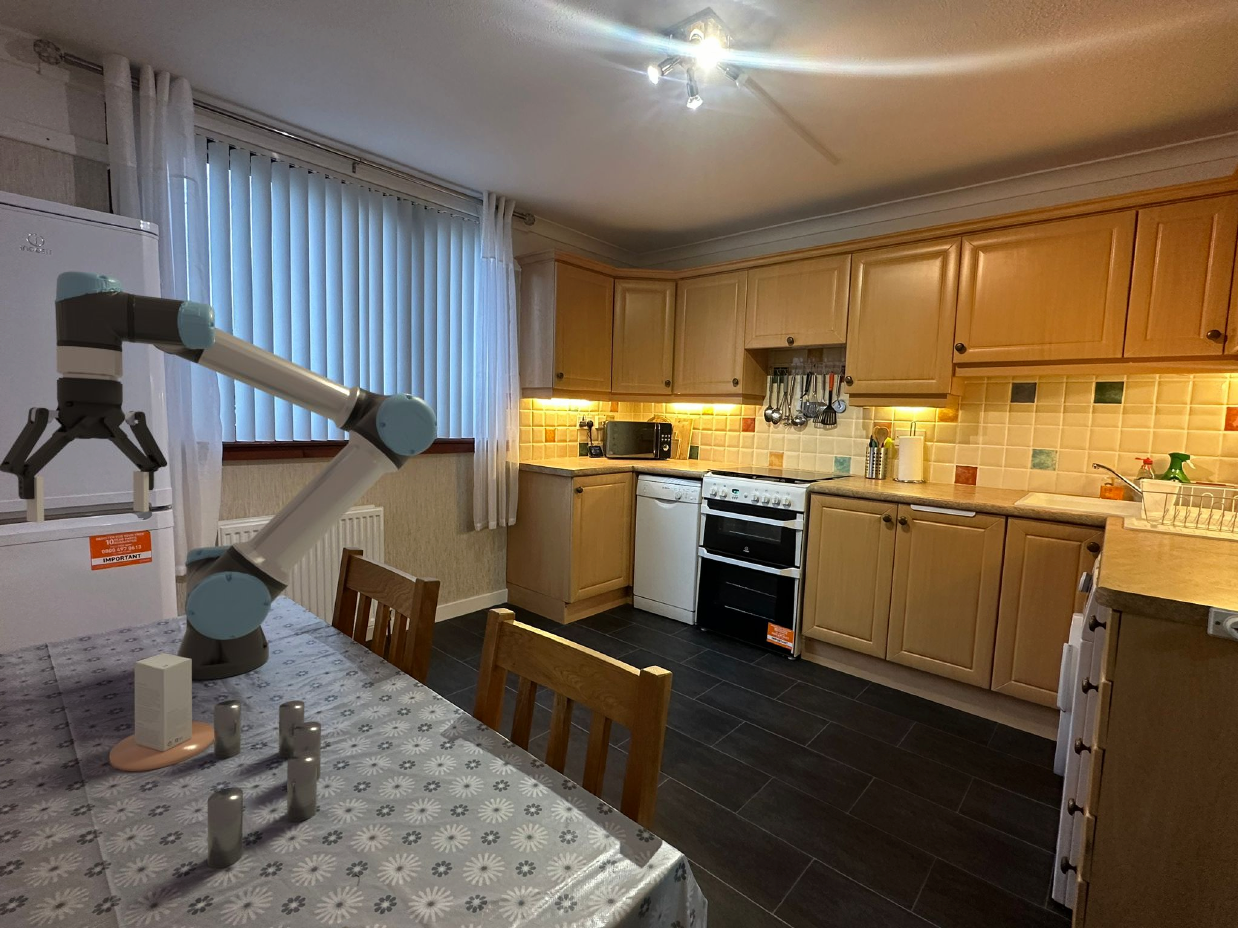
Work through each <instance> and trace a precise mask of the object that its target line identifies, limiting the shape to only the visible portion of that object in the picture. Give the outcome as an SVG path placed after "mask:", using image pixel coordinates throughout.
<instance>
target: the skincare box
mask: <svg viewBox="0 0 1238 928" xmlns="http://www.w3.org/2000/svg"><path fill="white" fill-rule="evenodd" d="M192 680H193V679H192V659H189V658H184V657H179V656H177V655H174V654H171V653H165V652H163V653H159V654H157V655H154V656H151V657H147V658H144V659H141V660H140V659H139V660H137V661H135V662H134V734H135V744H138V745H142V746H145V747H149V748H152V749H156V750H159V751H162V752H164V751H166V750H168V749H170V748H172V747H174V746H177V745H179V744H181V743H183V742H185V741H187V740H189V739H191V738H192V721H193V713H192V712H193V709H192V708H193V705H192V704H193V697H192V695H193V694H192V693H193V688H192V685H193V684H192V683H193V682H192Z"/></svg>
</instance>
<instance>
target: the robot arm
mask: <svg viewBox="0 0 1238 928" xmlns="http://www.w3.org/2000/svg"><path fill="white" fill-rule="evenodd" d="M55 292H56V293H55V299H54V307H55V331H56V332H55V333H56V334H55V335H56V337H55V338H56V372H57V373H58V374H60V375H61V376H62V377H58V379H56V400H57V407H56V409H49V408H47V407H31V408H29V410H28V416H27V423H26V424H25V426H24V427H23V429H22V430H21V432H20V433H19V436H17V438H16V440H15V441H14V443H13V444H12V446H11V448H10V449H9V451H8V452H7V453H6V455H5V457H4V458H3V460H2V462H1V464H0V472H3V473H7V474H11V475H15V476H16V477H17V483H18V486H17V488H18V497H19V499H20V500H25V501H26V521H27V522H30V523H36V524H39V523H44V522H45V502H44V499H45V496H44V492H45V491H44V476H36V475H37V474H39V472H40V471H41V470H42V469H43V468H44V467H46V465H48V463H50V462H51V460H53V459H54V458H55V457H56V456H57V455H58V454H59V453H60V452H61V451H62V450H63V449H64V448H66V446H67V445H68V444H69V443H71V442H73V441H74V440H75V439H76V440H77V439H79V440H91V439H95V440H108V441H110V442H111V443H113V445H114V446H116V448H118V450H120V451H121V452H122V454H123V455H124V456H125V457H126V458H128V459H129V460H130V462H131V463H132V464H134V465H135V467H136V468H138V469H139V470H133V471H132V472H133V476H132V477H133V478H132V480H133V481H132V482H133V483H132V486H133V495H132V496H133V499H132V500H133V511H134V512H141V513H146V512H147V513H148V512H150V491H153V490H154V488H155V472H158V470H159V469H161V468H165V467H166V466H168V461H167V459H166V457H165V456H164V454H163V452H162V450H161V448H160V446H159V445H158V443H157V441H156V440H155V438H154V436H153V434H152V432H151V431H150V429H149V427H148V424H147V419H146V417H147V416H146V412H144V411H140V410H138V411H136V410H135V411H134V410H131V411H129V412H124V411H123V409H122V405H123V402H124V401H123V400H124V398H123V397H124V395H123V394H124V392H123V391H124V390H123V389H124V388H123V387H124V386H123V385H124V384H123V383H122V381H119V378H122V377H123V376H124V374H123V368H124V367H123V343H124V342H127V343H130V344H131V343H132V344H133V343H134V344H135V343H136V344H144V345H153V346H154V347H155V348H156V349H157V350H159V351H161V352H163V353H165V354H169V355H173V356H177V357H179V358H182V359H184V360H186V361H189V362H191V363H194V364H197V365H199V366H202V367H204V368H207V369H209V370H211V371H214V372H216V373H219V374H221V375H223V376H224V377H228V378H230V379H233V380H235V381H237V382H240V383H241V384H245V385H247V386H250V387H252V388H254V389H257V390H259V391H261V392H264V393H266V394H268V395H271V396H273V397H276V398H278V399H281V400H283V401H284V402H288V403H290V404H292V405H294V406H298V407H299V408H302V409H304V410H307V411H309V412H311V413H314V414H317V415H318V416H321V417H323V418H326V419H328V420H331V421H333V422H334V425H335V427H336V428H337V429H340V430H342V431H344V432H347V433H348V443H347V444H346V445H345V446H344V447H343V448H342V449H341V450H340V451H339V452H338V453H337V454H336V455H335V456H334V457H333V458H332V459H331V460H330V461H329V462H328V463H327V464H326V465H325V466H324V467H323V468H322V469H321V470H320V471H319V472H318V473H317V474H315V476H314V477H313V478H312V479H311V480H310V481H309V482H308V483H307V484H306V485H305V486H304V487H303V488H301V489H300V491H298V492H297V494H295V495H294V496H293V497H292V499H290V500H289V502H287V504H286V505H284V507H282V508H281V510H279V511H278V512H277V513H276V514H275V515H274V516H273V517H272V518H271V519H270V520H269V521H268V522H267V523H266V524H265V525H264V526H263V527H262V528H261V529H260V530H259V531H258V532H257V533H256V534H255V535H254V536H253V537H252V538H251V539H250V540H247V541H242V542H234V543H232V544H231V545H230V544H229V545H216V546H215V545H214V546H207V547H206V546H204V547H198V548H193V549H190V550H189V551H188V552H187V554H186V561H185V562H184V567H185V568H186V570H185V571H186V573H185V574H186V577H185V579H186V581H185V582H186V583H185V584H186V587H185V588H186V591H185V592H186V594H185V602H184V612H185V614H186V615H185V617H186V619H185V620H186V622H185V623H186V628H185V632H184V636H183V637H182V640H181V643H180V646H179V649H178V651H177V655H176V656H179V657H184V658H189V659H192V680H201V681H202V680H213V679H215V680H217V679H221V678H223V679H224V678H229V677H232V676H237V675H241V674H244V673H248V672H250V671H253V670H255V669H258V668H259V667H261V666H263V665H264V664H265V663H266V662H268V660H269V659H270V658H269V657H270V647H269V646H270V645H269V643H268V641H267V638H266V635H265V633H264V630H263V627H262V624H263V623H264V622H265V620H266V618H267V617H268V615H269V612H270V611H271V608H272V606H271V605H272V604H273V602H274V601H275V600H276V599H277V598H278V597H279V596H280V595H281V594H282V593H283V592H284V590H285V589H286V588H287V587H288V586H289V585H290V584H291V581H290V580H291V578H290V577H291V571H292V570H293V569H294V567H296V566H297V564H299V562H300V561H301V560H302V559H303V558H305V556H306V555H307V554H308V553H309V552H311V550H312V549H313V548H314V547H315V546H316V544H318V543H319V542H320V540H321V539H323V538H324V537H325V535H327V533H328V532H329V531H330V530H331V529H332V528H333V527H334V526H335V525H336V524H337V523H338V522H339V521H340V520H341V519H342V518H343V516H345V515H346V514H347V512H349V510H351V508H353V506H354V505H355V504H356V503H358V501H359V500H360V499H361V498H362V497H363V496H364V495H366V493H367V492H368V490H370V489H371V488H372V487H373V486H374V485H375V483H377V481H379V479H380V478H381V477H382V476H383V475H384V474H388V473H397V472H398V471H399V470H400V469H401V468H402V467H404V465H405V464H406V463H407V462H408V461H409V460H410V459H411V458H412V457H413V456H417V455H419V454H421V453H423V452H424V451H426V450H427V449H429V448H430V447H431V445H432V444H433V442H434V441H435V439H436V436H437V432H438V419H437V417H436V413H435V412H434V410H433V408H432V407H431V406H430V404H428V402H427V401H425V400H423V398H421V397H418V396H417V395H413V394H410V393H405V392H404V393H403V392H401V393H399V392H398V393H395V394H386V395H385V394H380V393H377V392H372V391H369V390H366V389H364V388H362V387H360V386H351V387H348V386H346V385H344V384H342V383H339V382H337V381H334V380H332V379H330V378H329V377H327V376H326V377H325V376H323V375H321V374H319V373H317V372H315V371H313V370H310V369H308V368H306V367H303V366H301V365H300V364H297V363H294V362H292V361H291V360H288V359H286V358H284V357H281V356H279V355H277V354H275V353H273V352H270V351H269V350H266V349H264V348H261V347H260V346H257V345H255V344H253V343H252V342H248V341H246V340H243V339H242V338H239V337H237V336H235V335H233V334H231V333H229V332H226V331H224V330H222V329H220V328H217V327H216V323H215V322H216V318H215V316H216V315H215V309H214V308H213V306H211V305H210V304H206V303H201V302H197V301H196V302H195V301H192V300H189V299H188V300H187V299H186V300H182V299H181V300H180V299H173V298H163V297H156V296H155V297H154V296H147V295H139V294H134V293H129V292H124V289H123V285H122V282H121V281H120V280H119V279H117V278H115V277H112V276H108V275H103V274H98V273H94V272H86V271H85V272H83V271H76V270H75V271H73V270H72V271H71V270H69V271H63V272H61V273H60V274H58V276H57V278H56V291H55ZM54 419H55V420H56V422H57V423H58V424H59V425H60V426H59V427H58V428H57V429H56V430H55V431H54V432H53V433H52V434H51V437H49V439H48V440H46V442H45V443H43V444H42V445H41V446H40V447H39V448H38V449H37V450H36V451H35V452H34V453H33V454H32V455H31V456H30V454H31V453H32V451H33V449H34V448H35V447H36V444H37V443H38V442H39V441H40V438H41V436H42V435H43V434H44V432H45V430H46V428H47V426H48V424H51V423H52V422H53V420H54ZM123 422H125V423H126V424H127V425H128V426H129V428H130V430H131V432H132V434H133V435H134V437H135V439H136V441H137V442H138V444H139V446H140V447H141V449H139V448H138V446H137V445H135V444H134V443H133V442H132V440H131V439H130V438H129V436H128V435H127V433H126V432H125V431H124V430H123V429H122V428H121V427H120V426H121V425H122V424H123ZM142 451H143V452H142ZM29 456H30V457H29Z"/></svg>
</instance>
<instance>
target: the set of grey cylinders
mask: <svg viewBox="0 0 1238 928" xmlns="http://www.w3.org/2000/svg"><path fill="white" fill-rule="evenodd" d="M213 710H214V711H213V728H214V740H213V757H214V758H215V759H218V760H223V759H224V760H225V759H229V758H233V757H235V756H237V755H238V754H239V753H240V752H241V751H242V744H241V743H242V739H241V738H242V701H240V700H238V699H228V700H224V701H221V702H218V703H217V704H215V705H214V707H213ZM321 741H322V724H321V723H320V722H318V721H314V720H313V721H306V722H305V702H304V701H303V700H290V701H286V702H283V703H282V704H280V705H279V706H278V757H279V758H280V759H283V760H284V759H285V760H287V763H286V764H287V769H286V770H287V772H286V773H287V774H286V775H287V776H286V777H287V779H286V780H287V781H286V819H287V820H288V821H289V822H293V823H301V822H304V821H306V820H309V819H311V818H312V817H313V816H315V814H316V813H317V805H318V804H317V800H318V799H317V798H318V797H317V796H318V795H317V794H318V791H317V790H318V780H319V779H320V778H321V766H322V765H321V764H322V763H321V760H322V759H321V758H322V756H321V754H322V753H321V751H322V750H321V749H322V742H321ZM243 792H244V790H243V789H242V788H240V787H235V786H234V787H226V788H222V789H220V790H216V791H215V792H214V793H212V794H211V795H210V796H208V799H207V866H208V867H209V868H210V869H214V870H215V869H216V870H217V869H223V868H226V867H230V866H231V865H234V864H236V863H237V862H238V861H239V860H240V859H241V858H242V856H243V851H244V850H243V848H244V847H243V845H244V843H243V842H244V840H243V839H244V838H243V836H244V835H243V834H244V821H243V820H244V793H243Z"/></svg>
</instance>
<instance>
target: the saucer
mask: <svg viewBox="0 0 1238 928" xmlns="http://www.w3.org/2000/svg"><path fill="white" fill-rule="evenodd" d="M213 743H214V726H213V725H211V724H210V723H207V722H202V721H195V720H194V721H193V720H192V738H191V739H189V740H187V741H185V742H183V743H181V744H179V745H177V746H174V747H172V748H170V749H168V750H166V751H164V752H162V751H159V750H156V749H152V748H149V747H145V746H142V745H138V744H135V733H133V734H131V735H129V736H127V737H126V738H124V739H122V740H121V741H119V742H118V743H116V744H115V746H113V747H112V748H111V750H110V753H109V764H110V765H111V767H113V768H114V769H117V770H120V771H124V772H129V771H130V772H140V771H141V772H142V771H151V770H157V769H161V768H166V767H169V766H172V765H176V764H179V763H182V762H184V761H187V760H188V759H191V758H193V757H195V756H197V755H198V754H200V753H203V752H205V750H206V749H207V748H208V747H210V746H211V745H212V744H213Z"/></svg>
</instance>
